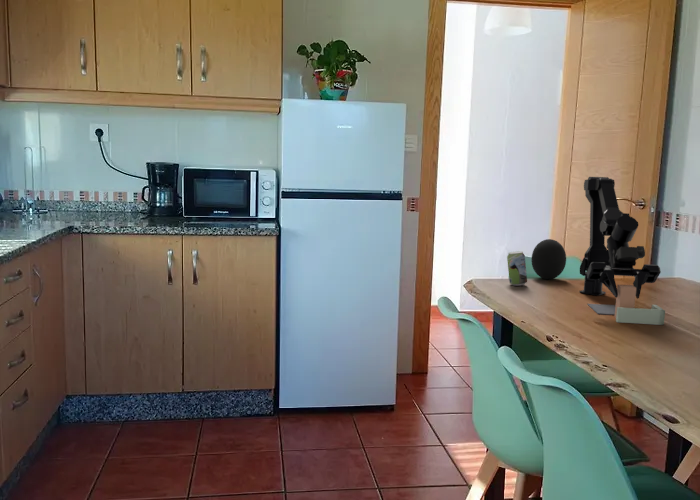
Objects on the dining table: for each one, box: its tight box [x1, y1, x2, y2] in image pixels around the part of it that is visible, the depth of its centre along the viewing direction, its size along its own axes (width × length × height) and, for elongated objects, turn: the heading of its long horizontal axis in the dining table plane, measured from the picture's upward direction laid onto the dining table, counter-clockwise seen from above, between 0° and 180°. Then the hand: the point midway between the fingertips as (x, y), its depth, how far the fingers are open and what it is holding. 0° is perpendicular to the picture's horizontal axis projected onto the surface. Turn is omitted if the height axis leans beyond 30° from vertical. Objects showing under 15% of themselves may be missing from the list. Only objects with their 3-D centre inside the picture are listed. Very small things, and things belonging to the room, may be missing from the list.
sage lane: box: [615, 304, 666, 326], centre depth 172 cm, size 7×12×4 cm, turn 83°
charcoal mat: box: [587, 303, 616, 316], centre depth 184 cm, size 12×12×1 cm
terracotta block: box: [614, 284, 636, 319], centre depth 173 cm, size 4×4×10 cm
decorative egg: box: [530, 238, 567, 280], centre depth 229 cm, size 12×12×15 cm
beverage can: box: [506, 250, 528, 286], centre depth 217 cm, size 6×7×12 cm
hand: (627, 297), depth 171 cm, fingers open, 5 cm apart
